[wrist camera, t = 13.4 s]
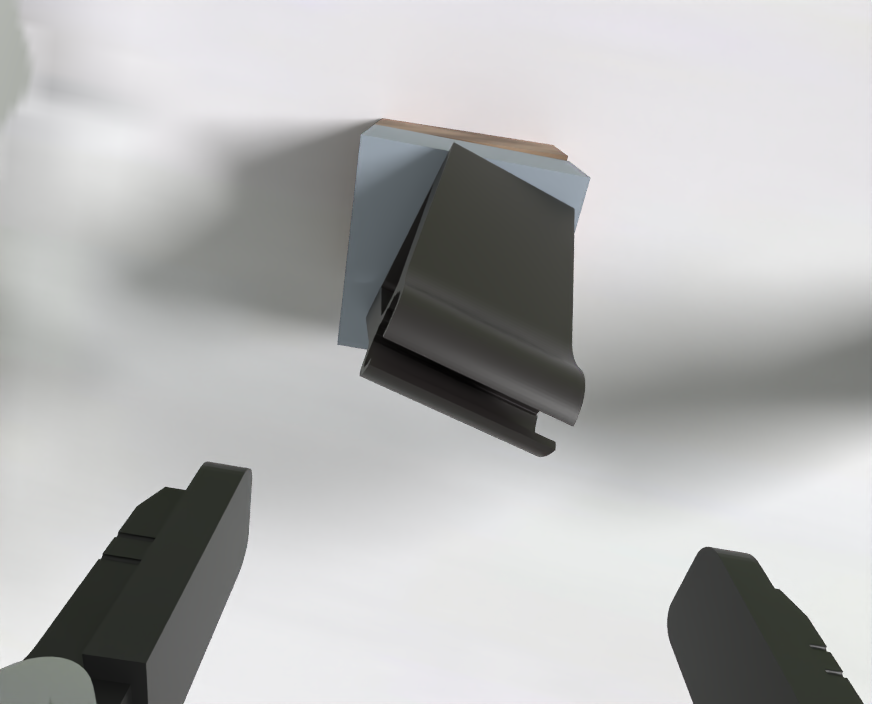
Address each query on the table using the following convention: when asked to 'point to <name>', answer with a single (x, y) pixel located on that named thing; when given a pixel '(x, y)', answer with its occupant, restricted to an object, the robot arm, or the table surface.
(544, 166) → the tower top
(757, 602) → the robot arm
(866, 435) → the table surface
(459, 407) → the phone stand
